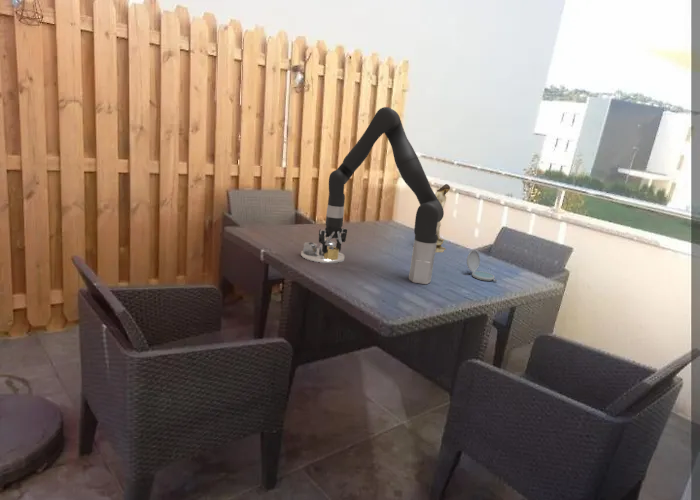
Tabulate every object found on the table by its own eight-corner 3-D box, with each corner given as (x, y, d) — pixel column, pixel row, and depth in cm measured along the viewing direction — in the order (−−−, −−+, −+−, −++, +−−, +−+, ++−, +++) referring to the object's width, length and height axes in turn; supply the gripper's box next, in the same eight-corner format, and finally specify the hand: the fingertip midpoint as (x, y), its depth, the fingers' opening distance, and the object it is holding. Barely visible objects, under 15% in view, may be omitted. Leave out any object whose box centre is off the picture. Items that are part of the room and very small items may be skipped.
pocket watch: (479, 249, 218) (507, 258, 207) (474, 271, 221) (503, 281, 210) (466, 251, 211) (495, 260, 201) (462, 274, 214) (490, 284, 203)
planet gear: (336, 260, 208) (337, 250, 207) (323, 258, 209) (324, 249, 208) (338, 257, 214) (339, 247, 213) (325, 255, 215) (326, 245, 213)
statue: (443, 254, 246) (454, 187, 237) (410, 248, 251) (420, 182, 242) (447, 247, 262) (457, 184, 253) (416, 241, 267) (426, 179, 257)
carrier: (341, 265, 206) (342, 251, 204) (296, 259, 207) (297, 245, 206) (346, 254, 225) (348, 241, 223) (305, 248, 227) (306, 235, 225)
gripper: (342, 213, 214) (338, 248, 218) (316, 214, 205) (313, 251, 209) (353, 216, 208) (348, 252, 212) (326, 218, 199) (322, 255, 204)
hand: (331, 251), depth 211 cm, fingers open, 6 cm apart
